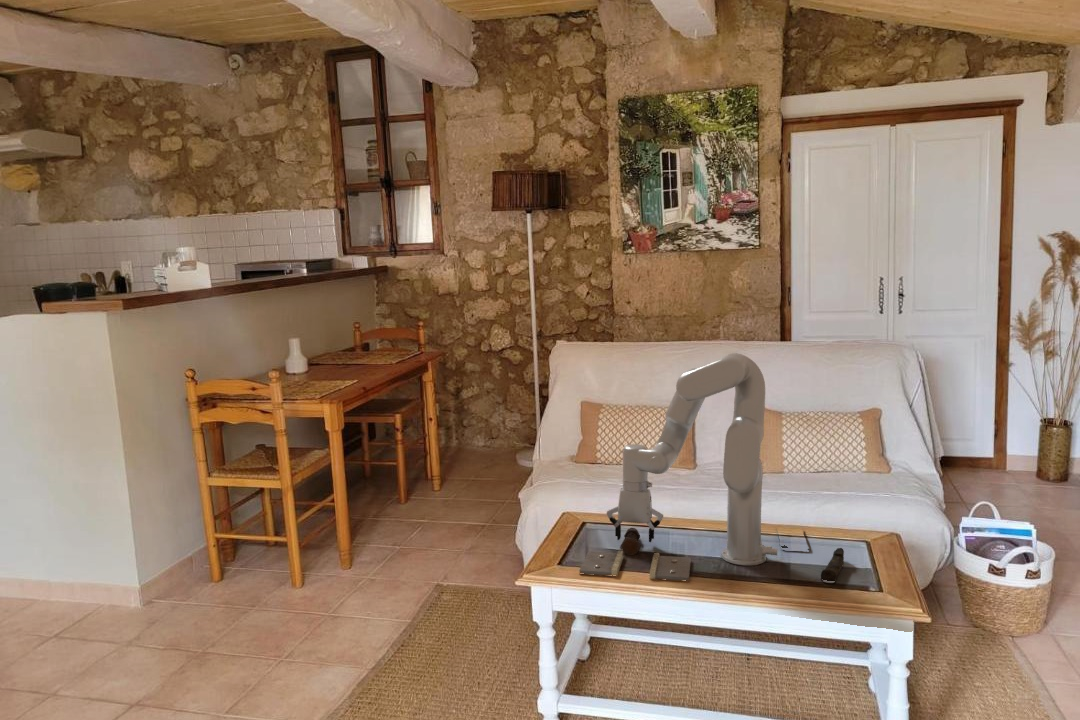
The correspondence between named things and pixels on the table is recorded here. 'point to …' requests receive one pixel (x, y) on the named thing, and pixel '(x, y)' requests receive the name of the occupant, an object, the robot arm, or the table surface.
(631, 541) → the bolt
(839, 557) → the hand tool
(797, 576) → the table surface
